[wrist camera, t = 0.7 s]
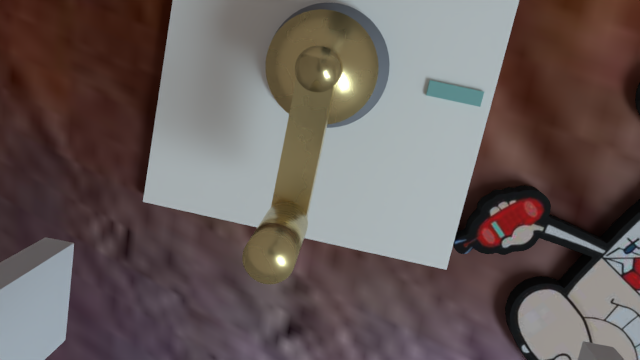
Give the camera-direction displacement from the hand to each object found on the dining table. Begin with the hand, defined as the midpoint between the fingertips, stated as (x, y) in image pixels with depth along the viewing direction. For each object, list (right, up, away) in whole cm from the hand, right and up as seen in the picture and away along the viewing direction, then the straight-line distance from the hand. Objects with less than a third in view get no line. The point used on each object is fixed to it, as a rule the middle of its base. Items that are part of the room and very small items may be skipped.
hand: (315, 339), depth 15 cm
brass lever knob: (0, +8, +21) cm, 23 cm away
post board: (+1, +12, +26) cm, 28 cm away
